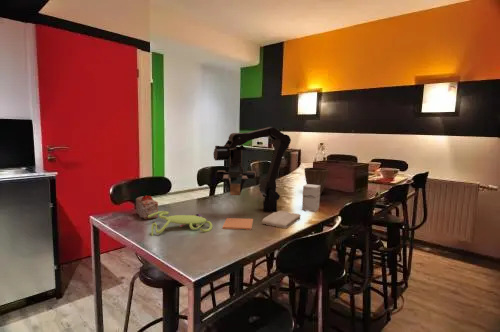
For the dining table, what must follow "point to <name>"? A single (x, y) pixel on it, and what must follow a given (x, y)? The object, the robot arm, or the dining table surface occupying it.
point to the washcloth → (281, 219)
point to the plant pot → (316, 176)
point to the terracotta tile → (238, 223)
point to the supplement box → (311, 197)
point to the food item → (146, 207)
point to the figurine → (181, 221)
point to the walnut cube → (235, 189)
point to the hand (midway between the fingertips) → (235, 192)
